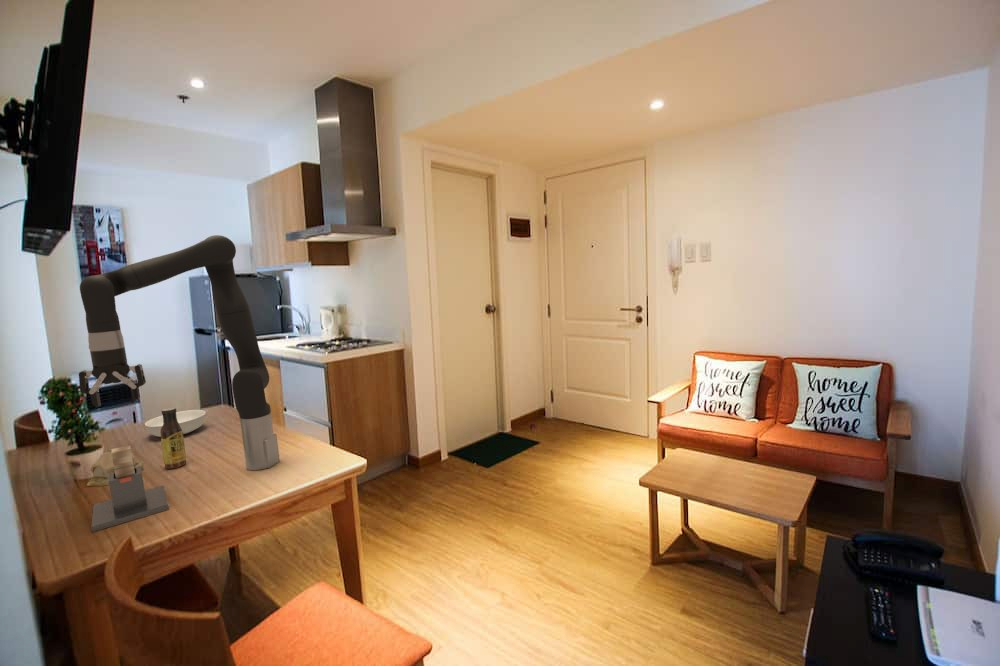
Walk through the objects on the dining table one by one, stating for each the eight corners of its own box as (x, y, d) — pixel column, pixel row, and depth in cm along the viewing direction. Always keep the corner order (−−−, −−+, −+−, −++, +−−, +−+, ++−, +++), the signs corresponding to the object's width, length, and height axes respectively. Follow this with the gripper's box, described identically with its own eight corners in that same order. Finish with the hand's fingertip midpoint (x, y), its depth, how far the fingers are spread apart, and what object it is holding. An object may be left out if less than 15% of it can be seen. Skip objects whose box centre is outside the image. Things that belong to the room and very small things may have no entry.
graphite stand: (164, 490, 141) (158, 456, 140) (168, 509, 129) (163, 473, 128) (94, 509, 131) (88, 473, 130) (92, 532, 119) (85, 493, 118)
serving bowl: (166, 427, 205) (163, 412, 204) (217, 423, 207) (214, 407, 206) (135, 444, 184) (132, 427, 183) (191, 439, 186) (189, 423, 185)
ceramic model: (106, 488, 145) (101, 457, 144) (79, 486, 148) (74, 455, 147) (150, 469, 159) (145, 440, 158) (124, 467, 162) (120, 439, 160)
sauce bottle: (175, 470, 156) (166, 412, 153) (160, 469, 157) (150, 412, 155) (192, 462, 163) (183, 406, 160) (177, 461, 164) (168, 406, 161)
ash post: (139, 498, 133) (130, 444, 131) (140, 503, 130) (130, 448, 128) (120, 503, 130) (111, 449, 128) (121, 509, 127) (111, 453, 125)
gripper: (142, 342, 138) (150, 396, 140) (80, 348, 132) (90, 404, 134) (134, 346, 131) (144, 402, 133) (69, 352, 125) (80, 411, 127)
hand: (117, 403), depth 133 cm, fingers open, 8 cm apart
